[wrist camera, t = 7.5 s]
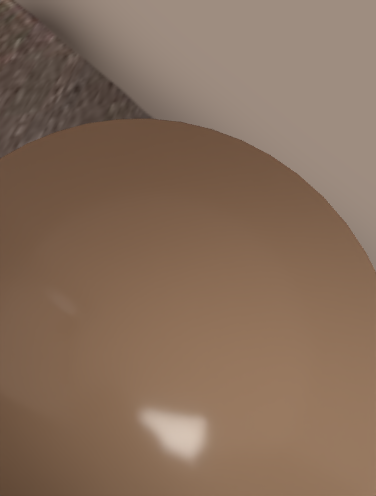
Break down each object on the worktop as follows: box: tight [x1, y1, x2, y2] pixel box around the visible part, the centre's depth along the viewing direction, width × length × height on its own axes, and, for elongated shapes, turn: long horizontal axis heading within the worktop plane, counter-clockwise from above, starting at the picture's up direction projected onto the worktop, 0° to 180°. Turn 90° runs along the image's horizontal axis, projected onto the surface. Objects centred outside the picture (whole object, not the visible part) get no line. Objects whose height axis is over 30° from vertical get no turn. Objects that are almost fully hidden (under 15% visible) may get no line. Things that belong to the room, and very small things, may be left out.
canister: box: [0, 119, 376, 496], centre depth 10 cm, size 7×7×12 cm
